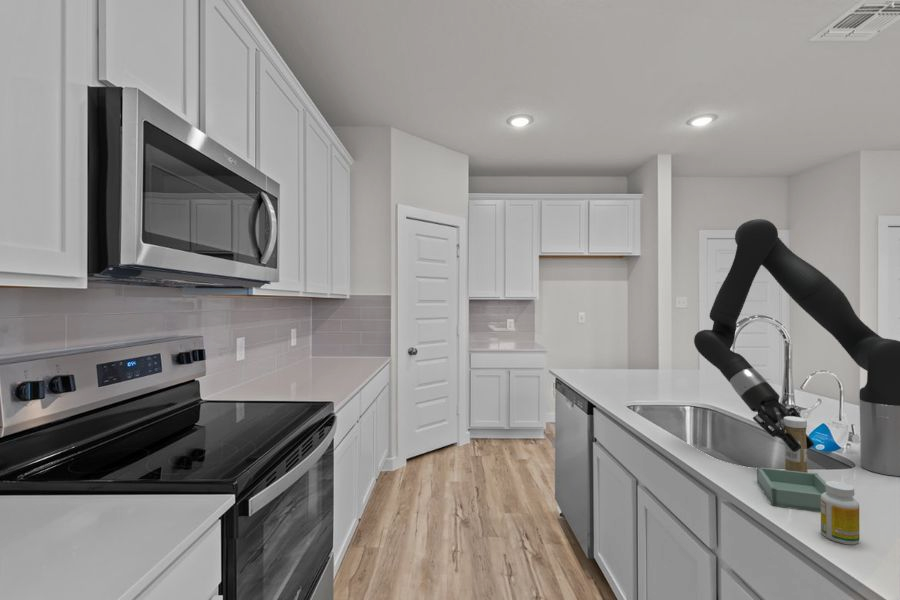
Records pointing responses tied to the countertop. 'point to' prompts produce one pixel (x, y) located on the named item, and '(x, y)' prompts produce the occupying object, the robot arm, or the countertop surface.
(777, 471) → the bin
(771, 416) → the robot arm
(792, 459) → the amber pill bottle
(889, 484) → the countertop surface
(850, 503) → the supplement bottle
